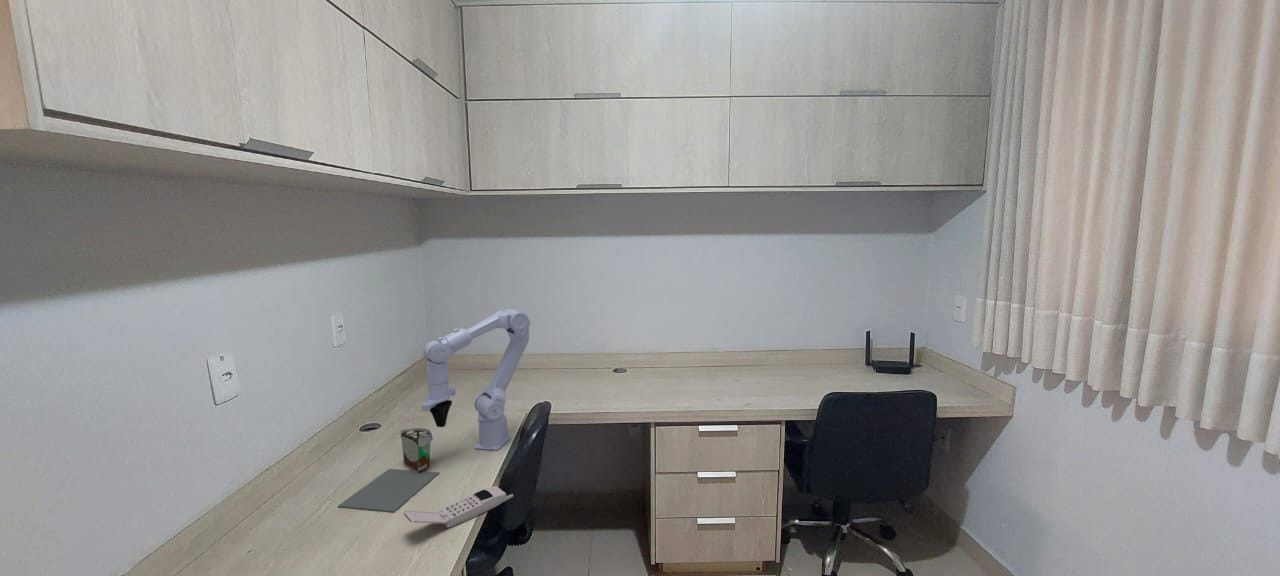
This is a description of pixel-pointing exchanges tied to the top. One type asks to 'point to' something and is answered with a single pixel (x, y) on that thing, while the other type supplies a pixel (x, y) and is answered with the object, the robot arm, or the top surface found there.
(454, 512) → the mobile phone
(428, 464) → the food container
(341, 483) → the top surface
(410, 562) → the top surface
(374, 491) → the charcoal mat
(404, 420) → the top surface
